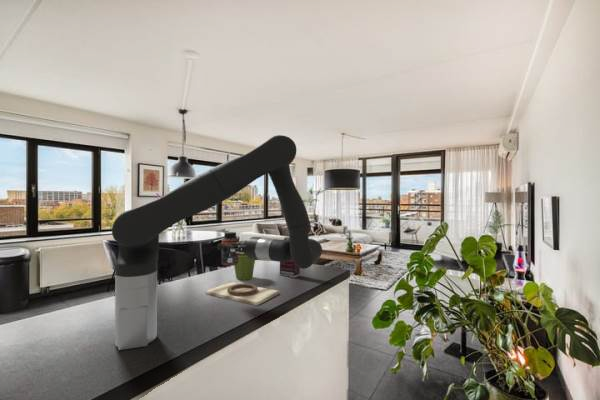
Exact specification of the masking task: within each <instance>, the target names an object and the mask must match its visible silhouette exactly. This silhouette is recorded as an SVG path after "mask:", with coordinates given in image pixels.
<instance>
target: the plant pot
mask: <svg viewBox="0 0 600 400" xmlns="http://www.w3.org/2000/svg"><path fill="white" fill-rule="evenodd" d="M255 263H256V260H254V259H249V258H248V257H247V255H246V253H245V254H240V253H239V262H238V264H236V265H233V268H234V273H235V279H236V280H239V281H242V280H245V281H247V280H251V279H252V278H253V277H254V270H255V269H254V268H255Z"/></svg>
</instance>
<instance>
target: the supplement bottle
mask: <svg viewBox="0 0 600 400" xmlns="http://www.w3.org/2000/svg"><path fill="white" fill-rule="evenodd" d="M239 242H240V241H239V238H238V237H237V232H236V231H226V232H224V237H223V238H222V239H221V244H232V243H239ZM235 246H236V245H235ZM238 262H239V253H236V254H229V253H223V250H221V265H222V266H231V267H232V266H234V265H236V264H238Z"/></svg>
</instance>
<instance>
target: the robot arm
mask: <svg viewBox="0 0 600 400" xmlns="http://www.w3.org/2000/svg"><path fill="white" fill-rule="evenodd" d="M296 155H297V145H296V143H295V141H294V140H293V139H292V138H290V137H289V136H287V135H282V134H281V135H279V134H278V135H274V136H272V137H270V138H269V139H267V140H266V141H264V142H263V143H262V144H260V145H259V146H257V147H256V148H254V149H252V150H250V151H249V152H247V153H245V154H243V155H241V156H238V157H235V158H233V159H231V160H227V161H225V162H223V163H220V164H218V165H216V166H214V167H211V168H209V169H208V170H206V171H204V172H201V173H200V174H198V175H195V176H193V177H192V178H191V179H189V180H187V181H185V182H184V183H182V184H181V185H179V186H178V187H176V188H174V189H173V190H171V191H170V192H168V193H167V194H165V195H163V196H161V197H160V198H157V199H154V200H152V201H150V202H147V203H145V204H142V205H140V206H138V207H135V208H131V209H128V210H126V211H123V212H122V213H120V214H119V215H118V216H117V217H116V219H115V220H114V221H113V224H112V227H111V235H112V237H113V240H114V241H115V242H116V243H117V244H118V253H117V258H116V262H115V271H114V272H115V279H114V281H115V286H114V290H115V292H114V294H115V295H114V299H115V300H114V340H115V341H114V344H115V345H114V346H115V347H116V348H117V350H118V351H123V350H129V349H134V348H135V349H136V348H141V347H148V345H149V344H150V343H151V342H153V341H154V340H156V338H157V334H158V317H157V316H158V261H159V246H160V245H159V243H160V241H159V240H160V234H161V233H163V232H164V231H166V230H168V229H169V228H170V227H173V226H174V225H175V224H177V223H178V222H181V221H183V220H185V219H188V218H190V217H193V216H195V215H198V214H201V213H202V212H205V211H207V210H208V209H210V208H213V207H215V206H217V205H219V204H220V203H222V202H224V201H226V200H228V199H229V198H231V197H233V196H234V195H236V194H238V193H239V192H240V191H242V190H244V189H245V188H247V186H249V185H250V184H252V183H253V182H255V181H256V180H258V179H259V178H261V177H263V176H264V175H267V174H268V175H269V177H270V179H271V182H272V185H273V187H274V190H275V192H276V194H277V198H278V200H279V203H280V208H281V210H282V214H283V217H284V220H285V223H286V227H287V231H288V236H289V237H288V239H287V240H286V239H278V238H276V239H275V238H272V237H263V236H262V237H261V236H252V237H250V238H249V239H248V240H240V241H239V243H232V244H222V242H221V243H219V242H218V243H217V251H222V250H223V253H229V254H236V253H240V254H245V253H246V255H247V257H248V258H249V259H254V260H255V261H264V262H278V263H280V262H288V261H290V260H293V262H294V263H295V264H296V265H297V266H298V267H299V268H300V269H308V268H310V267H311V266H312V265H314V264H315V263H316V262H317V261H318V260H319V259H320V258H321V256H322V254H323V247H322V245H321V244H320V242H318V241H317V240H315V239H313V238H309V234H310V232H311V231H312V226H311V225H312V224H311V221H310V217H309V214H308V211H307V207H306V205H305V203H304V200H303V198H302V197H301V195H300V193H299V190H298V189H297V187H296V185H295V182H294V180H293V177H292V174H291V167H290V165H291V164H292V163H293V161H294V160H295V159H296ZM235 245H236V246H235Z"/></svg>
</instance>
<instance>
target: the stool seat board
mask: <svg viewBox="0 0 600 400" xmlns="http://www.w3.org/2000/svg"><path fill="white" fill-rule="evenodd" d="M279 294H280V290H276V289H272V288H265V287H260V286H257V285H255V284H252V283H239V282H234V281H229V282H227V283H224V284H220V285H219V286H216V287H212V288H210V289H207V290H205V295H209V296H213V297H219V298H223V299H226V300H231V301H236V302H241V303H244V304H249V305H253V306H260V304H263V303H264V302H266V301H268V300H270V299H272V298H273V297H275V296H277V295H279Z"/></svg>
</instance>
